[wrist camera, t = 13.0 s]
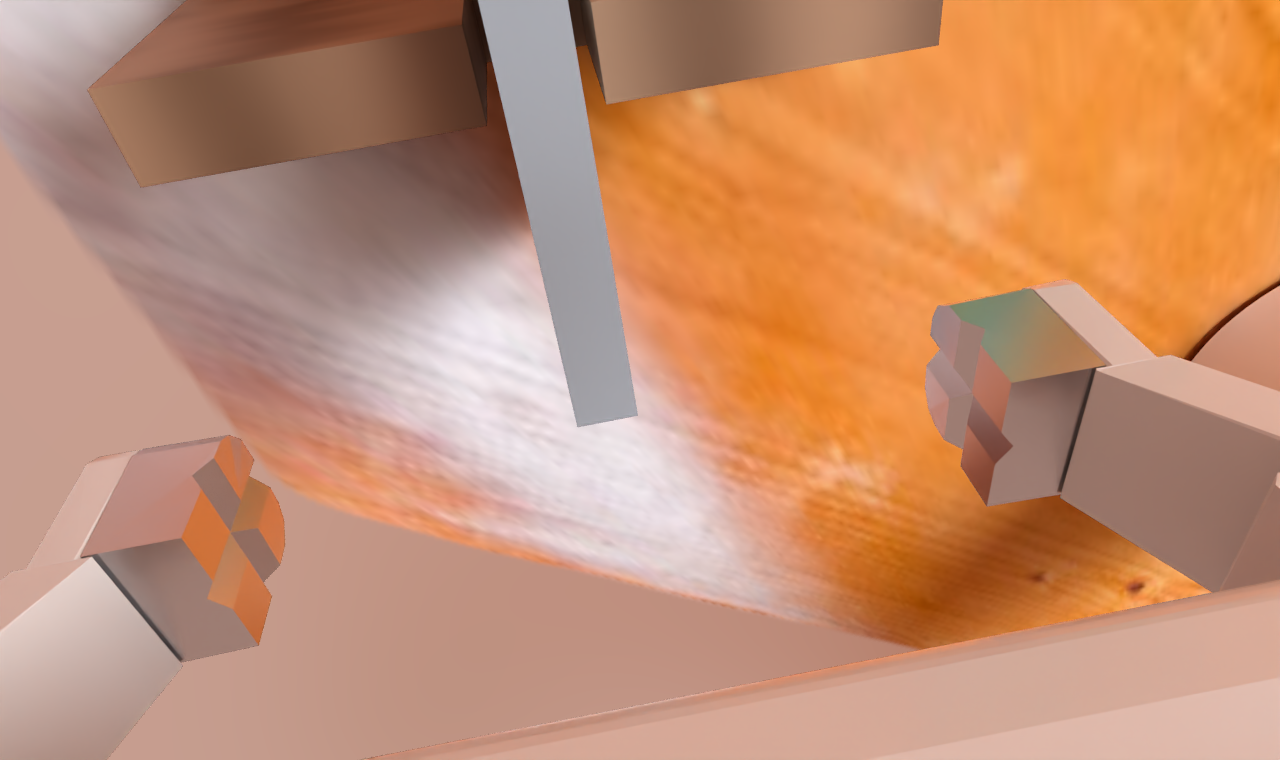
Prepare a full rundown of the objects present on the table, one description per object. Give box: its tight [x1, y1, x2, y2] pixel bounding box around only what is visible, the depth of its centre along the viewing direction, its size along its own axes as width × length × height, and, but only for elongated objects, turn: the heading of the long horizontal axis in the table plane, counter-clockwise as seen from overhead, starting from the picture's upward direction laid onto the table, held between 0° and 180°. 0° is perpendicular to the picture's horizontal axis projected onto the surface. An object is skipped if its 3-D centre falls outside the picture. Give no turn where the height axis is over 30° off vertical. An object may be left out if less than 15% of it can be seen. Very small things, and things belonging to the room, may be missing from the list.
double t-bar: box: [87, 0, 943, 187], centre depth 24 cm, size 20×8×10 cm, turn 97°
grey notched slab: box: [478, 0, 638, 427], centre depth 22 cm, size 16×2×14 cm, turn 7°
